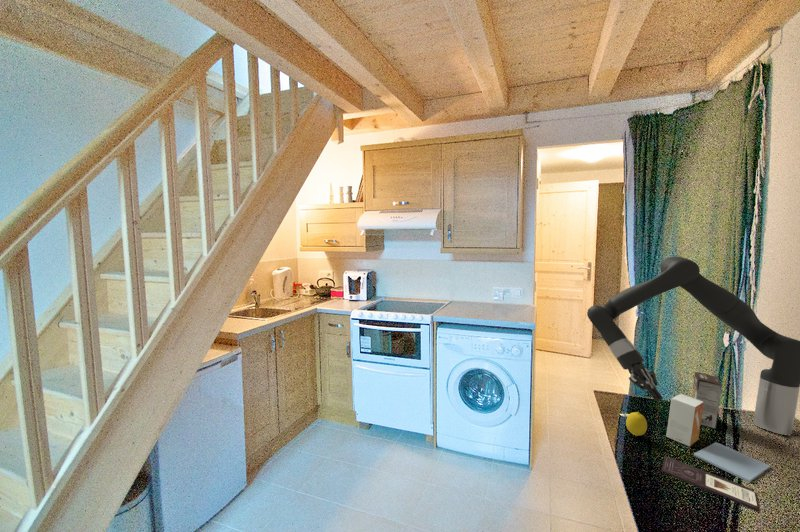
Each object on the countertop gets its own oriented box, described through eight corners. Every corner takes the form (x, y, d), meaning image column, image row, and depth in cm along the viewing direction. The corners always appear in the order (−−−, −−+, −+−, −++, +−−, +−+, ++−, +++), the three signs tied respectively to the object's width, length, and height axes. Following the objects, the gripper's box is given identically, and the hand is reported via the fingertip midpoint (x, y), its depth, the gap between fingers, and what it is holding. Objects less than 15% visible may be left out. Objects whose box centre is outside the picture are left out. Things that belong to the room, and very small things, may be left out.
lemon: (644, 435, 109) (647, 411, 108) (646, 443, 104) (649, 418, 103) (624, 429, 112) (627, 406, 111) (624, 436, 107) (627, 412, 106)
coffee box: (688, 412, 127) (694, 371, 125) (711, 418, 123) (717, 376, 122) (691, 422, 119) (697, 378, 118) (716, 429, 116) (722, 384, 114)
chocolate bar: (664, 455, 97) (753, 489, 85) (664, 458, 98) (753, 493, 85) (661, 470, 91) (757, 509, 79) (661, 473, 91) (757, 512, 79)
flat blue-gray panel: (715, 443, 106) (716, 442, 106) (770, 467, 96) (770, 465, 96) (693, 455, 99) (693, 453, 99) (749, 482, 89) (749, 480, 89)
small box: (690, 447, 103) (695, 407, 102) (665, 436, 109) (670, 398, 108) (699, 440, 108) (704, 401, 107) (674, 430, 113) (679, 393, 112)
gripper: (624, 350, 118) (659, 399, 108) (644, 347, 124) (679, 393, 115) (607, 360, 123) (639, 407, 114) (627, 356, 130) (659, 401, 120)
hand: (659, 400), depth 114 cm, fingers closed
